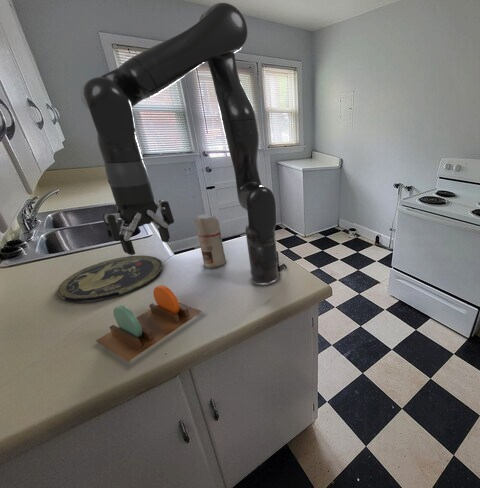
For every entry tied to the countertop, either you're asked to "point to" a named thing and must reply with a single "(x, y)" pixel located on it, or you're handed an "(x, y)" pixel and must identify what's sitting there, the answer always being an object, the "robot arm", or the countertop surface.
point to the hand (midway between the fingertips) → (149, 247)
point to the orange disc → (166, 299)
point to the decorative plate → (110, 279)
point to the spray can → (210, 240)
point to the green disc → (127, 321)
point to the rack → (147, 330)
